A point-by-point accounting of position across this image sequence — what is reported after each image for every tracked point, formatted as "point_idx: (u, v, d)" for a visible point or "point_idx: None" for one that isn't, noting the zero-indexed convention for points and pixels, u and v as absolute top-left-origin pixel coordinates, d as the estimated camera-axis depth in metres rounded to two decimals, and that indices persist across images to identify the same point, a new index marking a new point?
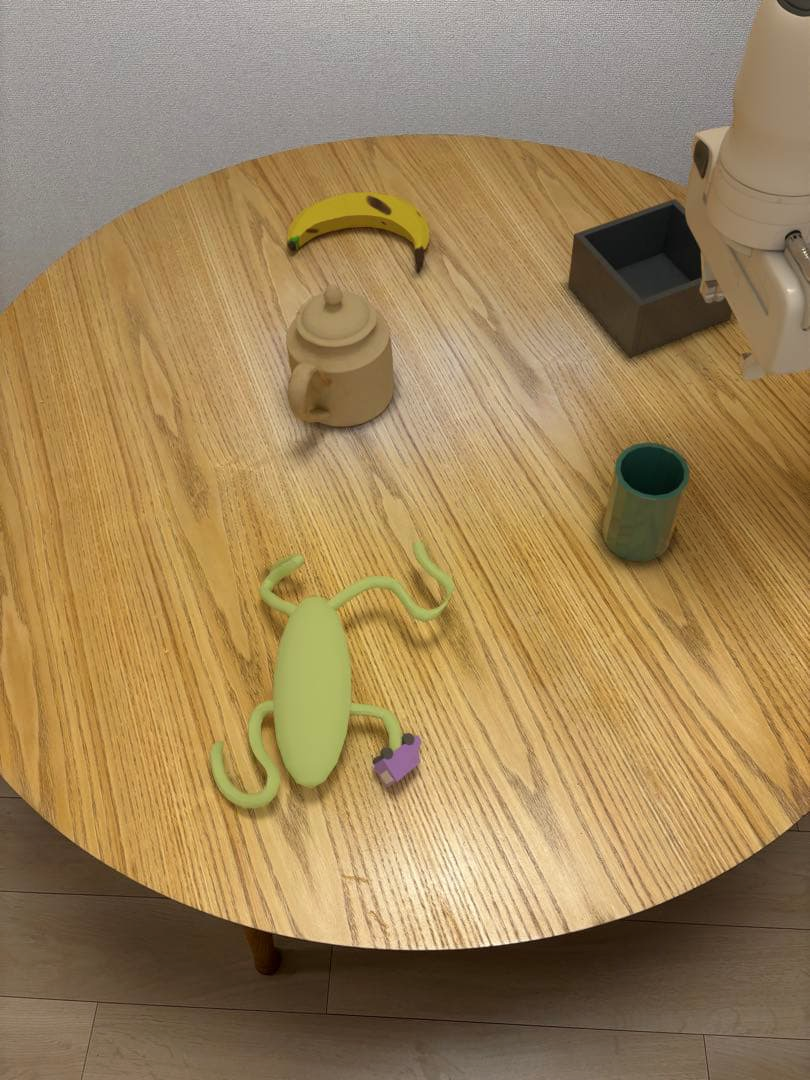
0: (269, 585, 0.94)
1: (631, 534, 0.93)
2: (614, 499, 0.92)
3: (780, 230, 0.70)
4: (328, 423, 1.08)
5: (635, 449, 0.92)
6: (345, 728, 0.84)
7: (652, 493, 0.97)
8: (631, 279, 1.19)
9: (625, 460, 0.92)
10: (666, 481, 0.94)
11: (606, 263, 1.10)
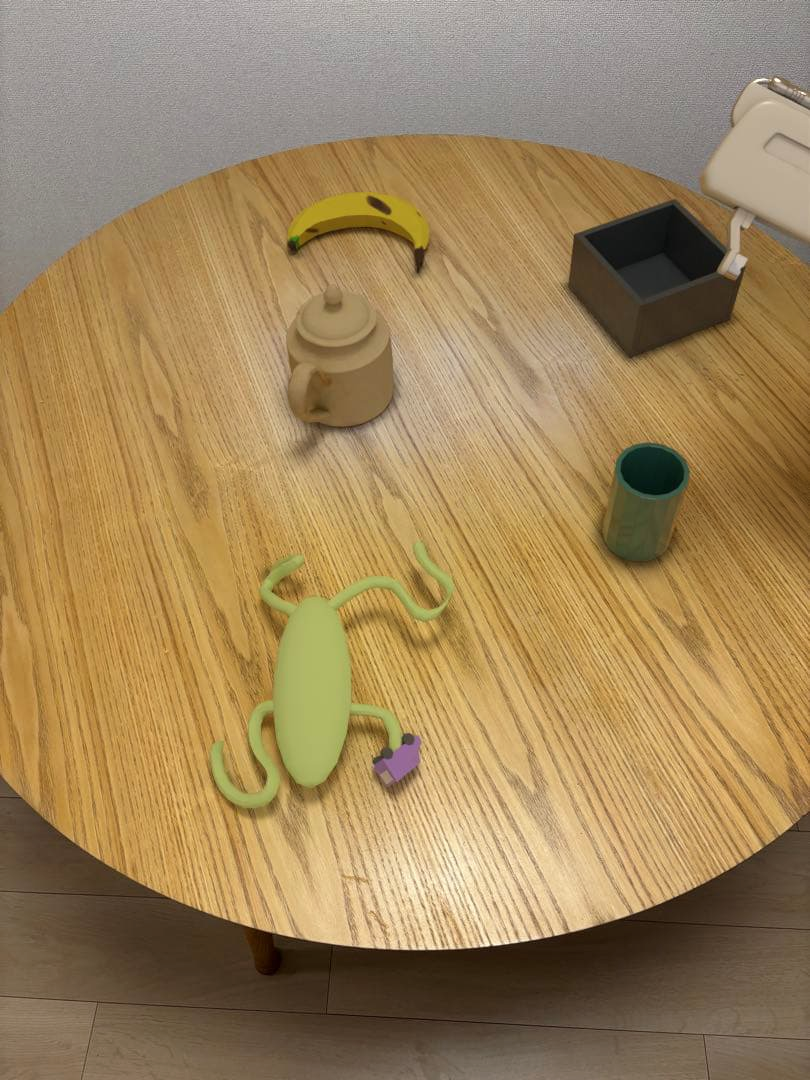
0: (269, 585, 0.94)
1: (631, 534, 0.93)
2: (614, 499, 0.92)
3: None
4: (328, 423, 1.08)
5: (635, 449, 0.92)
6: (345, 728, 0.84)
7: (652, 493, 0.97)
8: (631, 279, 1.19)
9: (625, 460, 0.92)
10: (666, 481, 0.94)
11: (606, 263, 1.10)
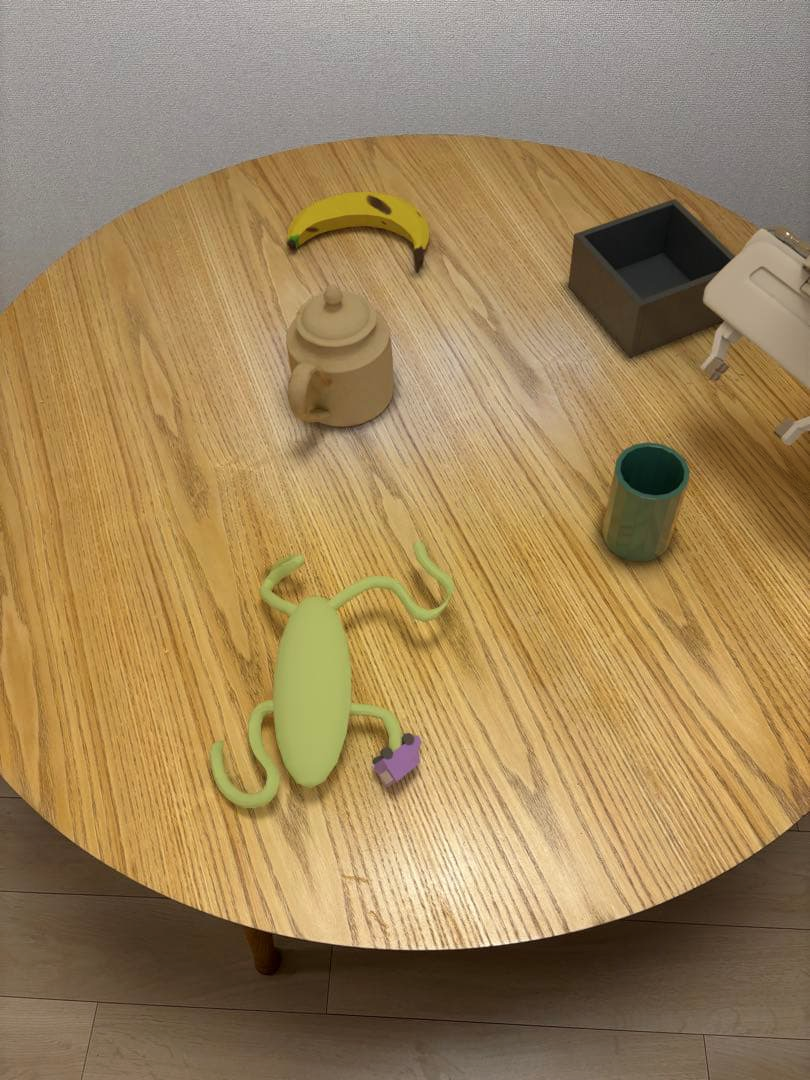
0: (269, 585, 0.94)
1: (631, 534, 0.93)
2: (614, 499, 0.92)
3: None
4: (328, 423, 1.08)
5: (635, 449, 0.92)
6: (345, 728, 0.84)
7: (652, 493, 0.97)
8: (631, 279, 1.19)
9: (625, 460, 0.92)
10: (666, 481, 0.94)
11: (606, 263, 1.10)
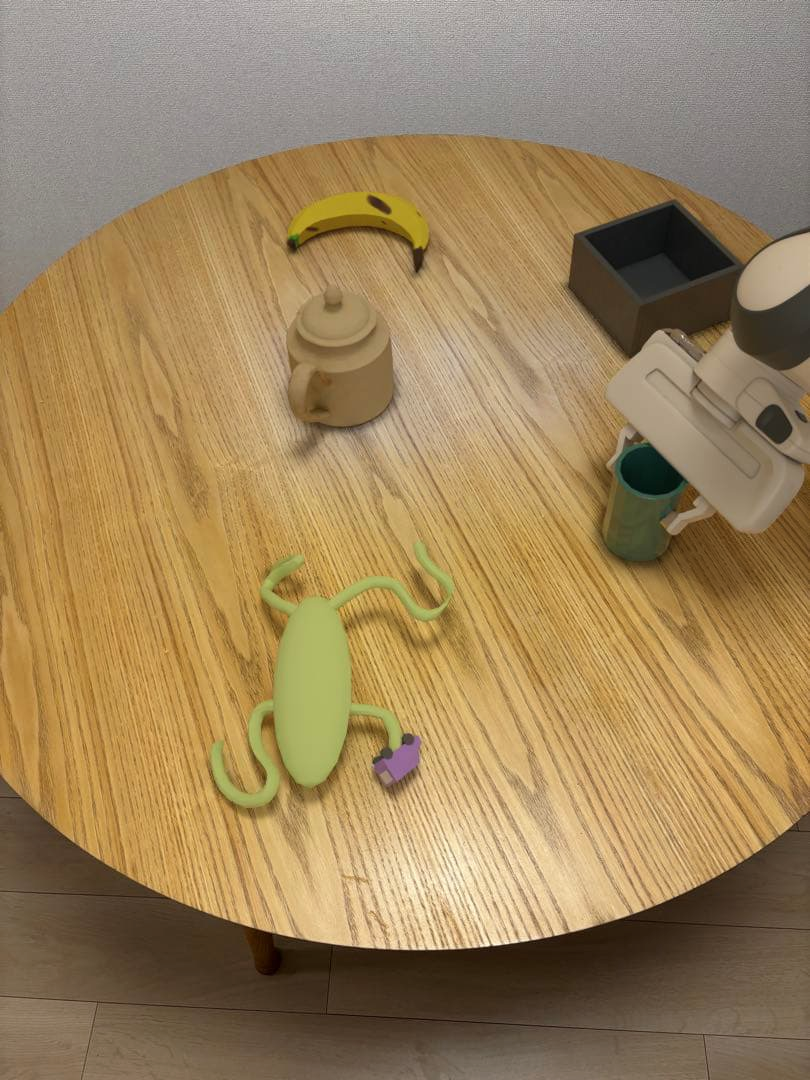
0: (270, 585, 0.94)
1: (631, 534, 0.93)
2: (613, 499, 0.92)
3: None
4: (328, 423, 1.08)
5: (635, 449, 0.92)
6: (345, 728, 0.84)
7: (651, 493, 0.97)
8: (631, 279, 1.19)
9: (625, 460, 0.92)
10: (666, 481, 0.94)
11: (606, 263, 1.10)
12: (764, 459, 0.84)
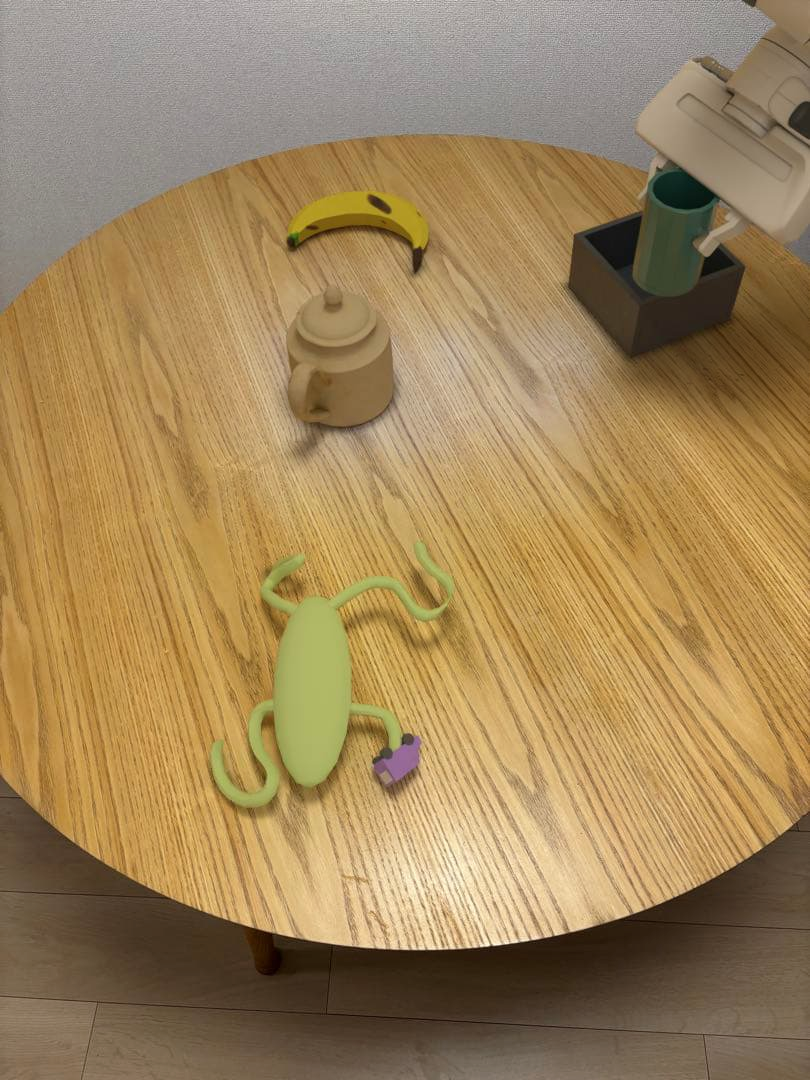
0: (270, 585, 0.94)
1: (662, 261, 0.95)
2: (645, 223, 0.94)
3: None
4: (328, 423, 1.08)
5: (666, 174, 0.94)
6: (345, 728, 0.84)
7: None
8: (631, 279, 1.19)
9: (656, 185, 0.94)
10: None
11: (606, 263, 1.10)
12: (796, 160, 0.86)
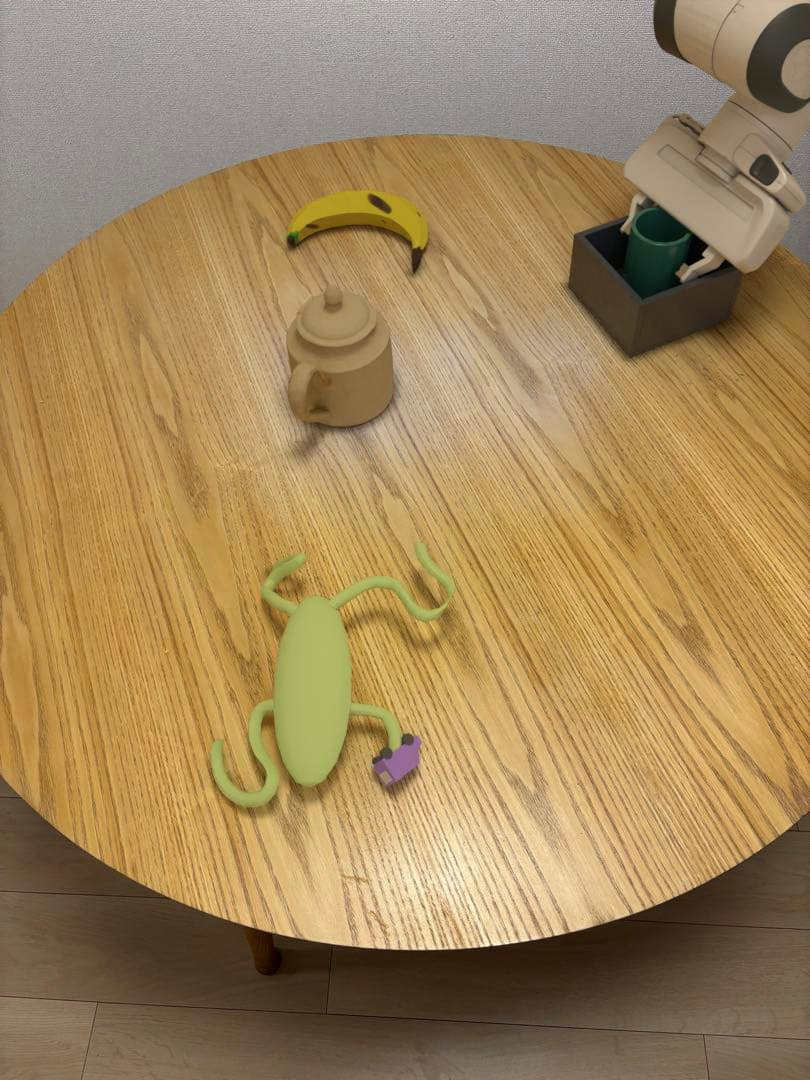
0: (271, 584, 0.94)
1: (644, 285, 1.12)
2: (630, 253, 1.11)
3: None
4: (328, 423, 1.08)
5: (648, 211, 1.11)
6: (345, 728, 0.84)
7: None
8: None
9: (639, 221, 1.11)
10: None
11: (606, 263, 1.10)
12: (756, 203, 1.02)
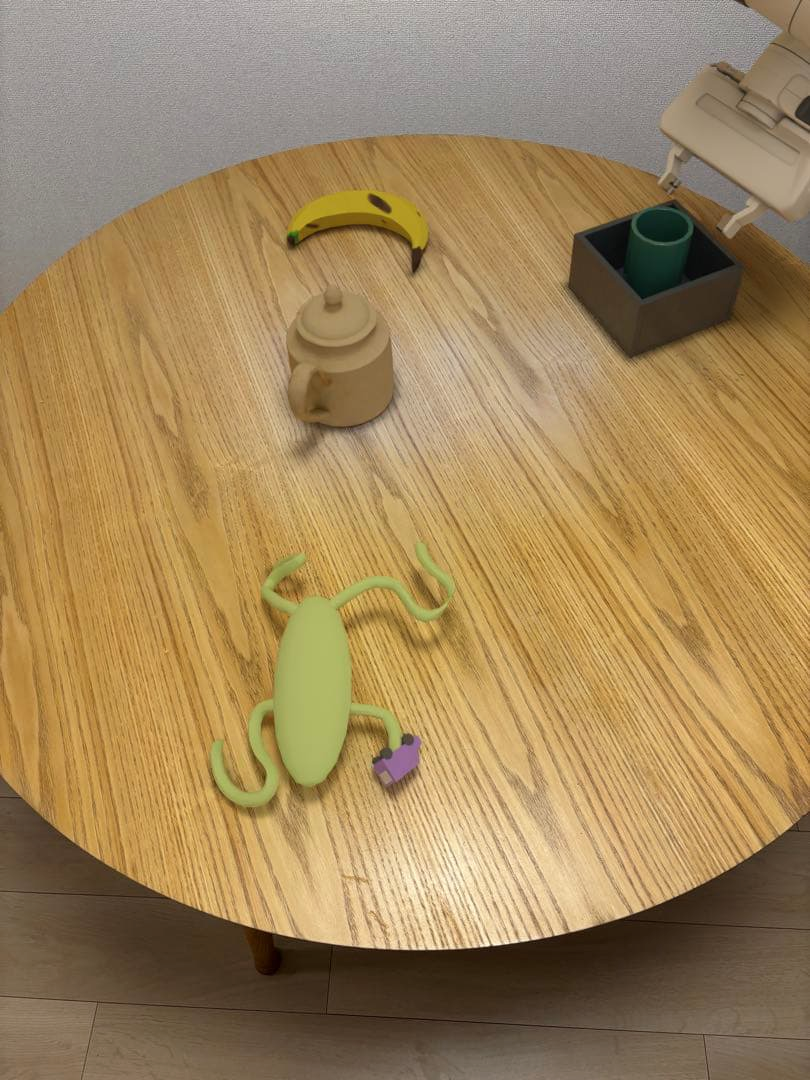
0: (271, 584, 0.94)
1: (644, 285, 1.12)
2: (630, 253, 1.11)
3: None
4: (328, 423, 1.08)
5: (648, 211, 1.11)
6: (345, 728, 0.84)
7: None
8: None
9: (639, 221, 1.11)
10: None
11: (606, 263, 1.10)
12: (803, 146, 0.99)
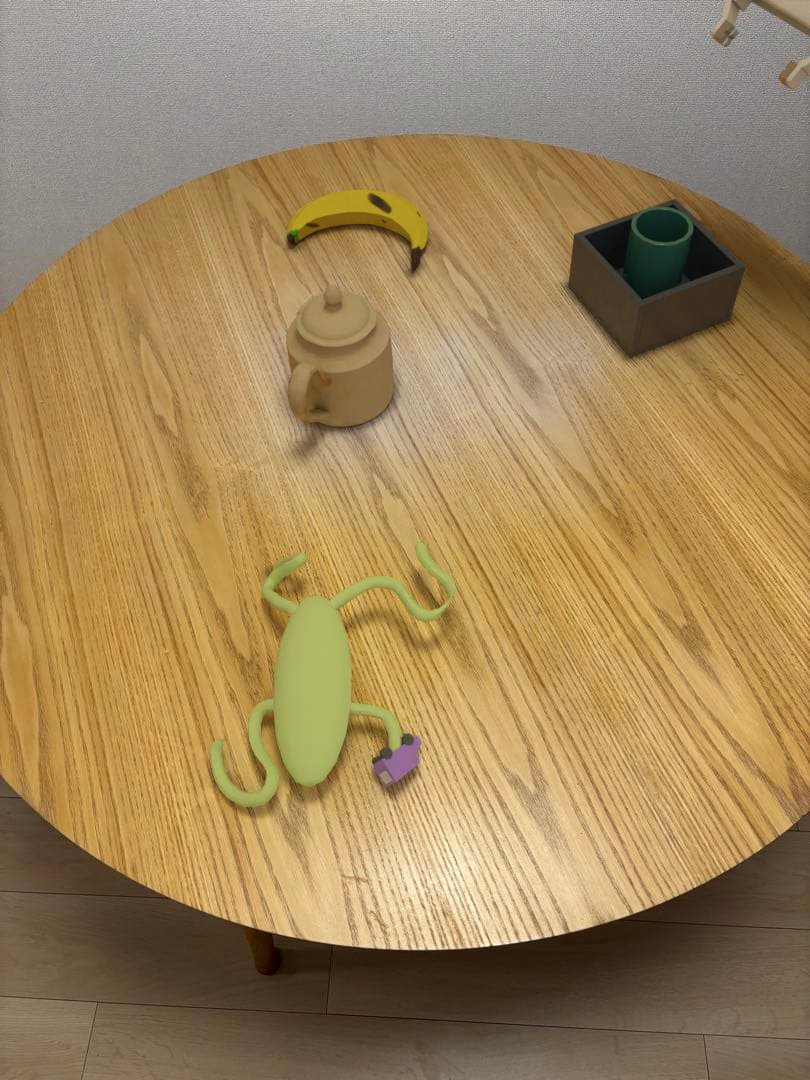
0: (271, 584, 0.94)
1: (644, 285, 1.12)
2: (630, 253, 1.11)
3: None
4: (328, 423, 1.08)
5: (648, 211, 1.11)
6: (345, 728, 0.84)
7: None
8: None
9: (639, 221, 1.11)
10: None
11: (606, 263, 1.10)
12: None
